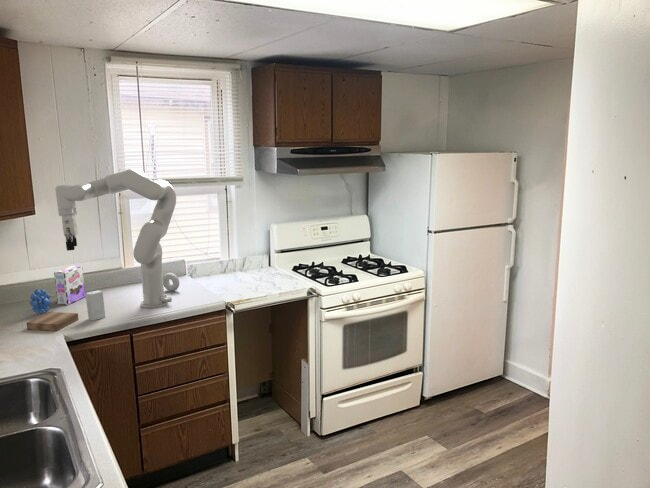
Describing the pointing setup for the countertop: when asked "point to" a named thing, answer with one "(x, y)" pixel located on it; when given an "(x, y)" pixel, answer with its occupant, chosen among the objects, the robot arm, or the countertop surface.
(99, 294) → the skincare box
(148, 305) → the robot arm
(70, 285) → the candy box
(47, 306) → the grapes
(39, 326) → the walnut board
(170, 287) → the donut
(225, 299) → the countertop surface
